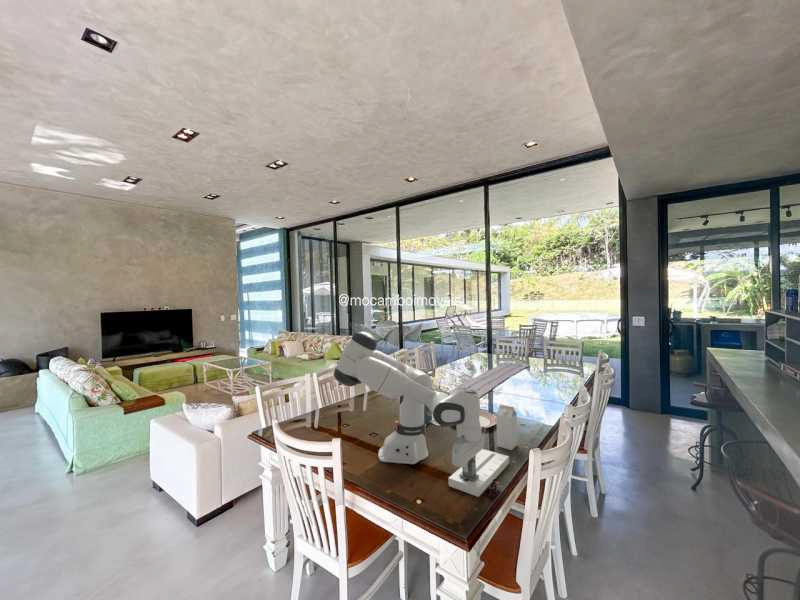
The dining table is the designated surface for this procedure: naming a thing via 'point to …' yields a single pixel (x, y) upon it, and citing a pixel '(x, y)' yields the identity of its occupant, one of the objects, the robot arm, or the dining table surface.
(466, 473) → the fader tab
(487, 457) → the console board
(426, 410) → the bottle
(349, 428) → the dining table surface
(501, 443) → the milk carton
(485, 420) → the dinner plate
